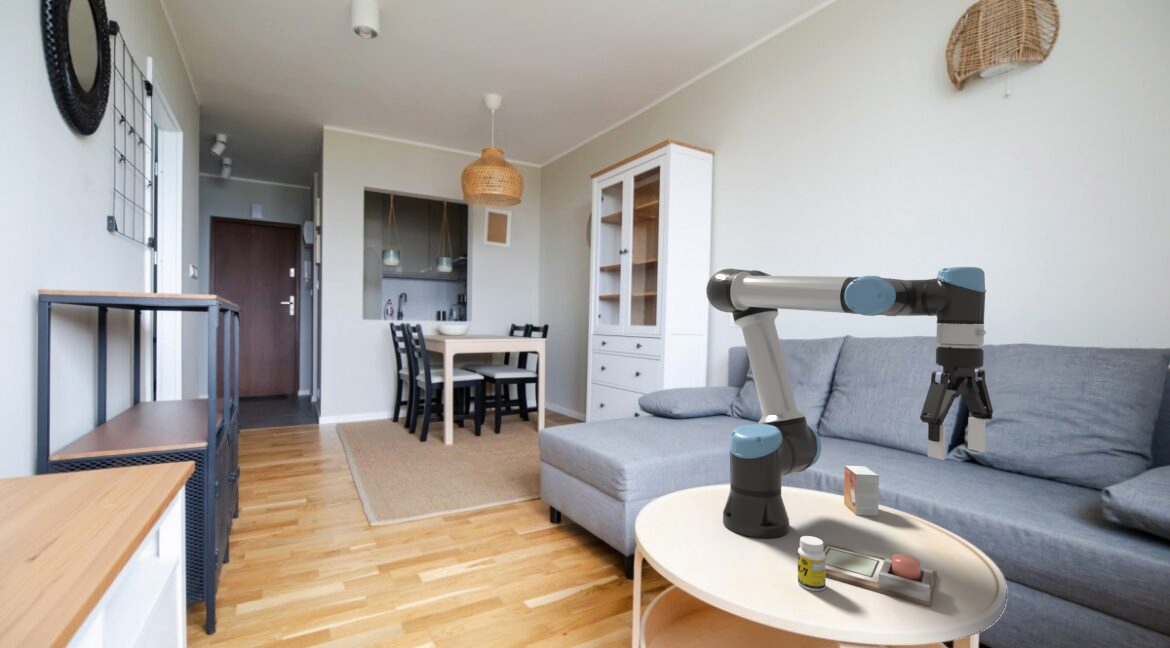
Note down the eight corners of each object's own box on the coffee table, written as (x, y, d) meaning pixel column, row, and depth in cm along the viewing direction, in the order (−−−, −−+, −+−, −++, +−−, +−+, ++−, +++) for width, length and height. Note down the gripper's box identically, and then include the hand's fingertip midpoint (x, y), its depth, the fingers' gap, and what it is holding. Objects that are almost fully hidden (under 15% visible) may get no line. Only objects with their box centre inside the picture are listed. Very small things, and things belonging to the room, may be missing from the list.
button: (890, 577, 92) (890, 560, 92) (893, 567, 96) (893, 552, 96) (919, 584, 89) (919, 567, 89) (921, 575, 93) (921, 558, 93)
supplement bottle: (792, 579, 96) (792, 535, 96) (816, 578, 97) (816, 534, 97) (805, 592, 92) (806, 546, 91) (830, 591, 92) (831, 545, 92)
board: (807, 571, 99) (807, 555, 99) (825, 546, 110) (825, 531, 110) (930, 607, 87) (930, 588, 87) (936, 575, 98) (936, 558, 98)
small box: (843, 504, 136) (843, 465, 136) (866, 505, 135) (866, 465, 135) (855, 515, 128) (855, 473, 128) (879, 516, 127) (879, 474, 127)
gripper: (942, 348, 90) (939, 466, 91) (1016, 346, 101) (1013, 451, 102) (900, 346, 97) (898, 456, 98) (973, 344, 108) (971, 443, 108)
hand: (956, 454), depth 100 cm, fingers open, 13 cm apart
